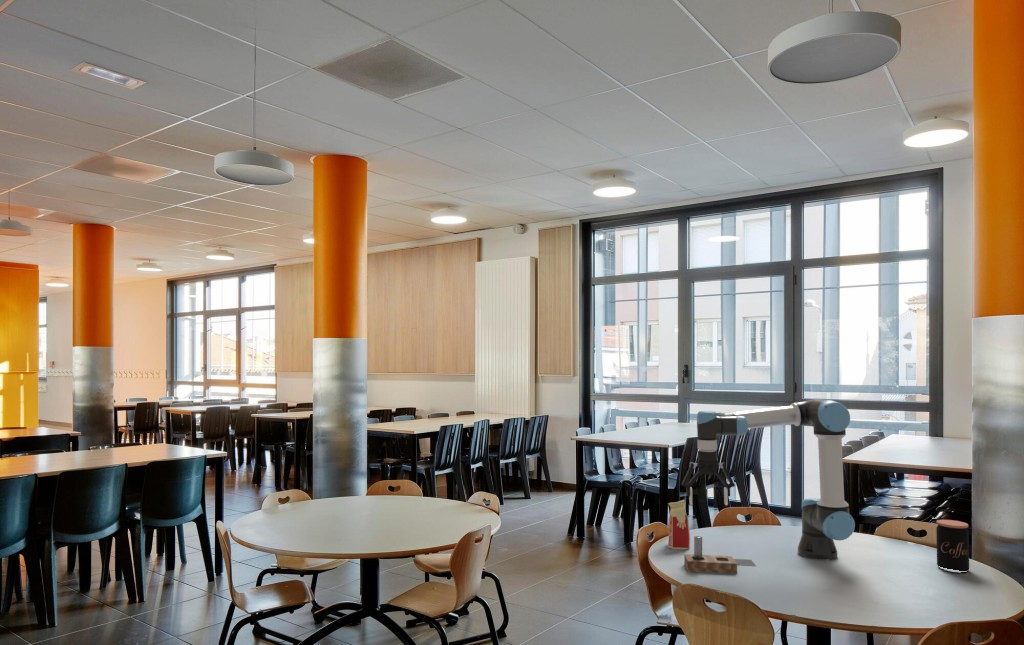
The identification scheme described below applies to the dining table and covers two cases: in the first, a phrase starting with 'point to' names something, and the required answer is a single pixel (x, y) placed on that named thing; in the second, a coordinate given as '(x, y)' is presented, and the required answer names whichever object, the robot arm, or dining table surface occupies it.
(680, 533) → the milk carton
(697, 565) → the hole block
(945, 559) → the coffee jar
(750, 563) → the mat
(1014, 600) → the dining table surface
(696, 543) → the peg
